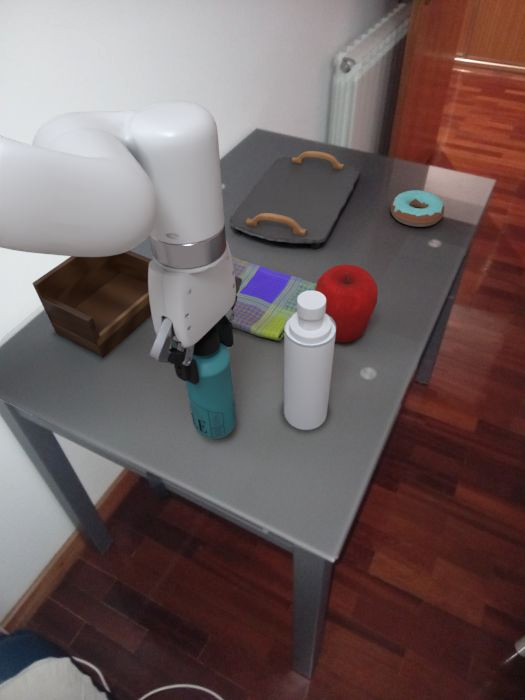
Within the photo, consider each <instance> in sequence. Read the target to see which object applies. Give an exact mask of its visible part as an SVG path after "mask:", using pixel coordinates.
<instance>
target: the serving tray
mask: <svg viewBox="0 0 525 700" xmlns="http://www.w3.org/2000/svg"><path fill="white" fill-rule="evenodd" d="M360 176H361V170H360V169H358V168H356V167H354V166H350V165H348V164H347V163H342V162H339V160H338V159H337V158H336V157H335V156H334V155H333V154H331V153H327V152H324V151H318V150H306V151H303V152H302V153H300V154H299V155H298V156H291V157H287V156H283V157H278V158H277V159H275V160H274V162H273V163H272V164H271V165H270V167H268V169H267V170H266V172H264V174H263V176H262V177H261V178H260V179H259V180H258V182H257V184H256V185H255V186H253V188H252V189H251V191H250V193H248V195H247V196H246V197H245V199H244V200H243V201H242V202H241V204H240V205H239V207H237V209H236V210H234V213H233V214H232V216H231V217H230V218H229V221H228V224H229V225H230V226H231V227H232V228H233V230H234V232H235V234H237V235H241V234H243V233H244V234H247V235H250V236H253V237H255V238H259V239H262V240H266V241H271V242H278V243H286V244H287V243H288V244H306V245H309V244H310V247H311V249H313V250H318V249H319V247H320V246H321V243H324V242H325V241H327V239H328V238H329V236H330V233H331V232H332V230H333V228H334V226H335V224H336V222H337V221H339V217H340V214H341V211H342V210H343V209H344V208H345V206H346V205H347V201H348V199H349V197H350V195H351V194H352V193H353V192H354V187H355V186H356V183H357V182H358V180H359V177H360Z"/></svg>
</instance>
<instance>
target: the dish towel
mask: <svg viewBox="0 0 525 700" xmlns="http://www.w3.org/2000/svg"><path fill="white" fill-rule="evenodd" d="M231 256H232V255H231ZM232 261H233V267H234V274H235V276H236V277H239V278H241V279H242V283H241V286H240V288H239V291H238V294H236V295H237V302H236V304H235V306H234V309H233V312H234V313H235V317H234V319H233V321H231V323H232V327H233V329H237V330H239V331H243V332H246V333H249V334H251V335H254V336H257V337H260V338H266V339H269V340H274V341H277V342H278V341H282V340H283V339H284V325H286V324H285V322H286V320H287V318H288V317H289V316H290V315H292V314H293V313H295V312H297V298H298V296H299V295H300V294H301V293H302V292H305V291H309V290H314V291H316V286H317V282H312V281H310V280H306V279H303V278H301V277H299V276H298V277H297V276H295V275H291V274H287V273H284V272H280V271H277V270H273V269H270V268H267V267H264V266H262V265H259V264H255V263H253V262H250V261H246V260H242V259H240V258H238V257H235V256H232ZM286 323H287V322H286Z"/></svg>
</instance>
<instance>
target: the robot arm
mask: <svg viewBox="0 0 525 700" xmlns="http://www.w3.org/2000/svg"><path fill="white" fill-rule="evenodd" d="M220 157H221V156H220V144H219V133H218V127H217V123H216V119H215V118H214V116H213V114H212V113H211V112H210V110H209V109H207V108H206V107H204V106H203V105H201V104H198V103H196V102H193V101H185V100H165V101H159V102H155V103H151V104H147V105H145V106H143V107H141V108H139V109H132V110H110V111H109V110H107V111H106V110H105V111H104V110H103V111H100V110H99V111H97V110H95V111H92V110H91V111H73V112H66V113H62V114H58V115H55V116H53V117H51V118H49V119H48V120H47V121H45V122H44V123H43V124H42V125H41V126H40V127H39V128H38V129H37V131H36V132H35V135H34V137H33V139H32V143H31V144H29V143H27V142H22V141H20V140H16V139H12V138H10V137H6V136H4V135H0V248H1V249H6V250H11V251H17V252H22V253H23V252H24V253H32V254H41V255H42V254H43V255H51V256H53V255H54V256H62V257H63V256H64V257H71V256H76V257H104V256H113V255H117V254H121V253H125V252H127V251H129V250H130V251H131V250H134V249H136V248H137V247H138V246H140V245H141V244H142V243H143V242H145V240H147V239H149V243H150V247H151V253H152V257H153V258H151V259H152V260H151V261H150V262H149V269H148V290H149V301H150V308H151V314H152V315H151V319H152V325H153V329H154V332H155V334H156V338H155V340H154V343H153V345H152V348H151V350H150V352H149V357H150V358H151V359H153V360H155V361H157V362H159V363H168V364H171V365H173V367H174V372H175V375H176V377H177V378H178V379H179V380H181V381H183V382H185V381H188V382H190V383H192V384H194V385H197V383H198V382H199V375H198V369H197V363H196V360H195V359H193V358H192V356H193V350H194V345H195V343H197V342H198V341H199V340H200V339H201V338H202V337H203V336H204V335H205V334H206V333H207V332H208V331H209V330H210V329H211V328H212V327H213V326H215V327H216V329H217V331H218V335H219V338H220V343H222V344H224V345H225V346H226V347H227V348H232V347H234V344H235V341H234V330H233V329H234V327H232V323H231V321H233V319H234V317H235V313H234V312H233V309H234V306H235V304H236V302H237V295H236V294H238V291H239V288H240V286H241V283H242V279H241V278H239V277H236V276H235V274H234V267H233V261H232V252H231V249H230V245H229V242H228V239H227V233H226V221H225V210H224V209H225V208H224V196H223V183H222V170H221V158H220ZM179 344H181V346H182V348H183V351H182V350H181V349H178V348H179Z"/></svg>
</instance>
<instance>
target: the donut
mask: <svg viewBox="0 0 525 700" xmlns="http://www.w3.org/2000/svg"><path fill="white" fill-rule="evenodd" d="M390 212H391V216H393V218H394V219H395V220H396V221H397V222H399V223H401V224H403V225H405V226H409V227H412V228H413V227H414V228H425V227H430V226H433V225H435V224H437V223H438V222H440V221H441V219H442V218H443V217H444V215H445V205H444V202H443V200H442V199H441V198H440V197H439V196H437V195H436V194H435V193H432V192H429V191H426V190H419V189H411V190H406V191H403V192H400V193H398V194H397V195H396V196H395V197H394V198H393V199H392V201H391V203H390Z"/></svg>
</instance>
